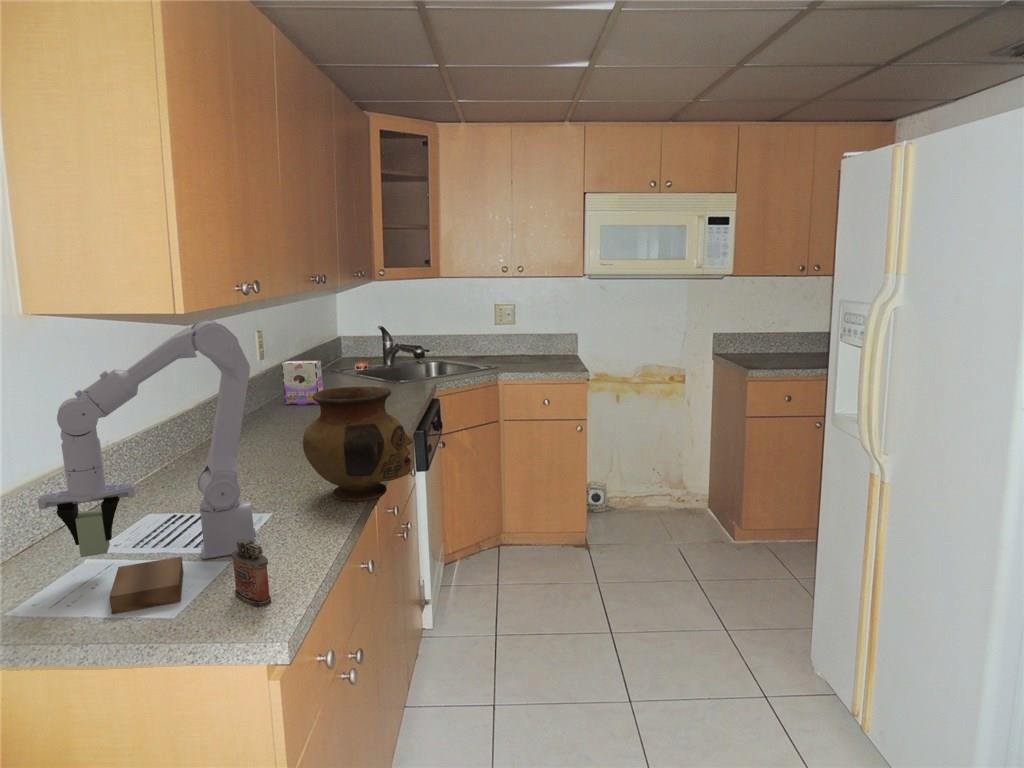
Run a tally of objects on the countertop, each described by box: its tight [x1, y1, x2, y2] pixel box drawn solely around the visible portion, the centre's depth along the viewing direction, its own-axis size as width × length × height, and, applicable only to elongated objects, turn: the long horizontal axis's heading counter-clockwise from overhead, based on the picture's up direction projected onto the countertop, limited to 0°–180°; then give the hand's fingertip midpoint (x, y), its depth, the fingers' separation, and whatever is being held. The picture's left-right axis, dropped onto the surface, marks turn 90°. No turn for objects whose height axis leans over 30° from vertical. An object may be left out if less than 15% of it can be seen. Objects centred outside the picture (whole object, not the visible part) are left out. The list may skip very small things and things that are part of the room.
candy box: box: [281, 360, 324, 405], centre depth 272 cm, size 14×6×16 cm, turn 84°
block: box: [75, 508, 111, 558], centre depth 125 cm, size 4×4×7 cm
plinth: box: [108, 556, 184, 615], centre depth 119 cm, size 10×12×3 cm
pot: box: [302, 386, 414, 503], centre depth 166 cm, size 25×24×25 cm
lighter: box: [230, 539, 272, 609], centre depth 116 cm, size 8×3×10 cm, turn 52°
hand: (94, 540), depth 125 cm, fingers closed on block, 4 cm apart
